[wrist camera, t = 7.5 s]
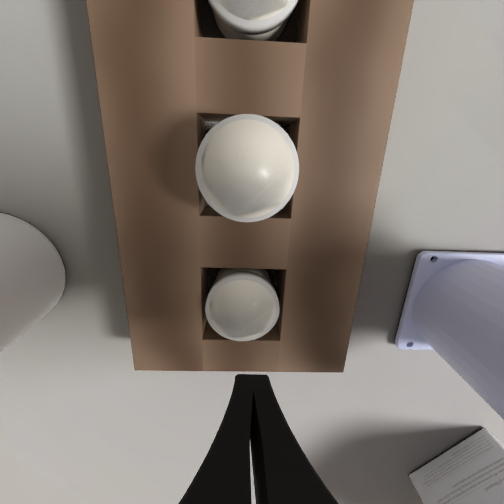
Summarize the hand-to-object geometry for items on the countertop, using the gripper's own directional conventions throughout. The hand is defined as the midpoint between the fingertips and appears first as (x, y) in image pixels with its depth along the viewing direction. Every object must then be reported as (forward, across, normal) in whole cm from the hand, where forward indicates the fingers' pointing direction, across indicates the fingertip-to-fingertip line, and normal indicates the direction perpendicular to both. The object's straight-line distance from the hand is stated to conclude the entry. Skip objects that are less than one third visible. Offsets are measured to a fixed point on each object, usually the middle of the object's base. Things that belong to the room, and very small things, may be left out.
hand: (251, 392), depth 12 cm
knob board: (+8, 0, -9) cm, 12 cm away
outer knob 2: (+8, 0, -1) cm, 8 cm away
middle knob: (+6, 0, -9) cm, 11 cm away
